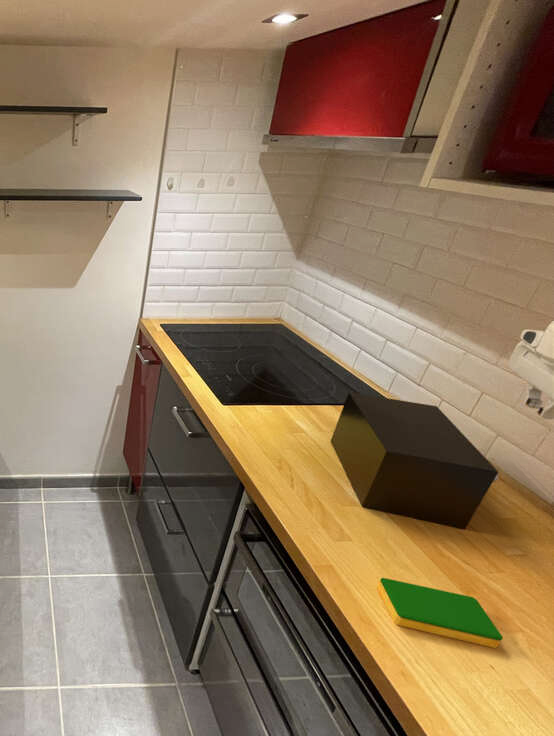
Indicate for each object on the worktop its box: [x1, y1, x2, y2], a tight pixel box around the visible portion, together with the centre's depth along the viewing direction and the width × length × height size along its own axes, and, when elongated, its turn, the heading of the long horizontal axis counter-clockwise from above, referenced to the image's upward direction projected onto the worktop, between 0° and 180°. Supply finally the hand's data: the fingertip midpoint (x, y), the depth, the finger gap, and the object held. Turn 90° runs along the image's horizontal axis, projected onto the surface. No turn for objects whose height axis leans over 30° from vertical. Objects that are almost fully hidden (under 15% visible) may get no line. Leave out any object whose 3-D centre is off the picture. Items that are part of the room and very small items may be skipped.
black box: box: [330, 391, 499, 531], centre depth 100 cm, size 20×24×15 cm
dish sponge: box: [376, 577, 504, 649], centre depth 73 cm, size 7×14×2 cm, turn 75°
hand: (537, 411), depth 89 cm, fingers open, 3 cm apart
